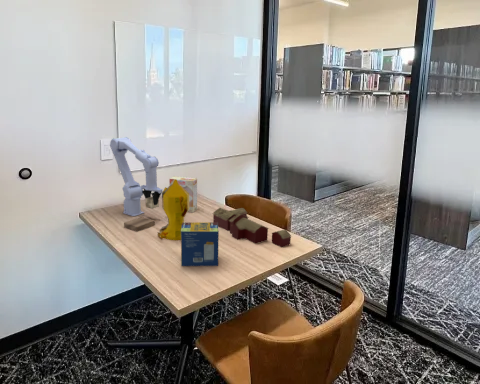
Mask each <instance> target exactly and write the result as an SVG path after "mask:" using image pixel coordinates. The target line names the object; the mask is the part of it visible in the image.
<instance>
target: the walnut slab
mask: <svg viewBox="0 0 480 384" xmlns="http://www.w3.org/2000/svg"><path fill="white" fill-rule="evenodd" d="M155 225H156V221H155V220H154V219H152V218H151V219H150V218H147V217H143V216H140V217H138V218H134V219H131V220H128V221H125V222H124V223H123V228H124V229H128V230H131V231H133V232H134V231H135V232H137V233H139V232H140V231H143V230H146V229H149V228H151V227H153V226H155Z"/></svg>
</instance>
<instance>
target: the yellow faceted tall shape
mask: <svg viewBox="0 0 480 384" xmlns="http://www.w3.org/2000/svg"><path fill="white" fill-rule="evenodd" d="M162 191H163V192H162V193H161V204H162V205H161V206H162V207H161V208H162V210H163V211H164V213H165V215H166V217H167V224H166V225H164V226H162V227H161V228H160V229H159V230H158V232H157V237H159V238H161V239H165V240H166V241H177V242H178V241H181V228H182V223H183V222H185V217H186V215H187V213H189V212H188V210H189V193H188V192H187V191H186V190H185V189H184V188H183V187H182V186H181V185H179V184H178V181H177V180H176V179H175V180H174V181H173V183H172V185H170V184H169V186H168V187H164V189H162Z"/></svg>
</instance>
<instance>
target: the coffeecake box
mask: <svg viewBox="0 0 480 384" xmlns="http://www.w3.org/2000/svg"><path fill="white" fill-rule="evenodd" d="M175 179H176V180H177V181H178V184H179V185H181V186H182V187H183V188H184V189H185V190H186V191H187V192H188V193H189V210H188V212H187V213H195V211H197V209H198V178H197V177H196V178H195V177H187V176H186V177H185V176H175V175H173V176H172V177H169V186H170V185H172V183H173V181H174V180H175Z"/></svg>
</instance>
